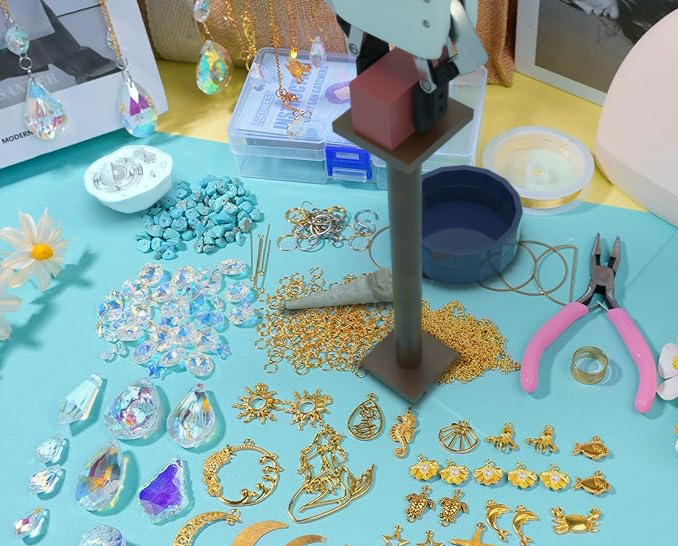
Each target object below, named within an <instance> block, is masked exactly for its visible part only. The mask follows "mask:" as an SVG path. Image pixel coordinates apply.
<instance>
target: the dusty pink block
mask: <svg viewBox="0 0 678 546" xmlns="http://www.w3.org/2000/svg"><path fill="white" fill-rule="evenodd" d="M432 64H433V68H434V67H435V66H436V65H438V61H437V59H432ZM419 84H420V83H419V79H418V75H417V71H416V66H415V62H414V58H413V54H411V53H409V52H407V51H405V50H402V49H400V48H398V47H396V46H394V47H393V48H392V49H390V51H389V52H388V53H387V54H386V55H384V56H383V57H382V58H380V59H379V60H378V61H377V62H375V63H374V64H373V65H371V66H370V67H369V68H368V69H366V70H365V71H364V72H362V73H361V74H360V75H359V76H357V75H356V77H354V78H353V79H352V80H351V81H350V82H348V89H349V100H350V108H351V112H352V122H353V130H355V131H356V132H358V133H360V134H362V135H364V136H365V137H367V138H369V139H371V140H373V141H374V142H376V143H378V144H380V145H381V146H383V147H385V148H387V149H389V150H390V151H392V150H393V149H395V148H396V147H397V146H398V145H399V144H401V143H402V142H403V141H404V140H405V139H406V138H408V137H409V136H410V135H411V134H412V133H414V132H415V131H416V130H415V127H414V112H413V91H414V88H415V87H416V86H417V85H419ZM449 97H450V82H448V102H447V104H448V103H449Z"/></svg>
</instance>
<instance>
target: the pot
mask: <svg viewBox="0 0 678 546" xmlns="http://www.w3.org/2000/svg"><path fill="white" fill-rule="evenodd" d="M523 215H524V210H523V205H522V201H521V196H520V194H519V192H518V191H517V190H516V188H515V187H514V186H513V185H512V184H511V183H510V182H509V181H508V179H506V177H503V176H501V175H499V174H498V173H496V172H494V171H492V170H490V169H488V168H485V167H480V166H475V165H474V166H473V165H470V164H469V165H468V164H458V165H446V166H439V167H438V168H435V169H433V170H430V171H428V172H425V173H422V276H423V275H424V276H425V277H427V278H429V279H430V280H433V281H437V282H441V283H445V284H450V285H466V284H475V283H480V282H483V281H485V280H487V279H491V278H492V277H494V276H496V275H499V274H500V273H501V272H502V271H503V270H504V269H505V268H506V267H507V266H508V265H509V264H510V263H511V262H512V261H514V259H515V255H516V253H517V249H518V246H519V243H520V237H521V229H522V222H523Z"/></svg>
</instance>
